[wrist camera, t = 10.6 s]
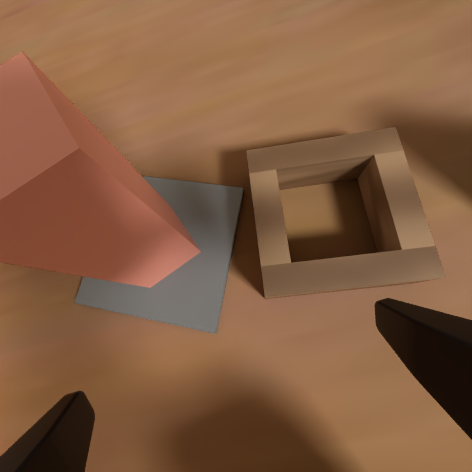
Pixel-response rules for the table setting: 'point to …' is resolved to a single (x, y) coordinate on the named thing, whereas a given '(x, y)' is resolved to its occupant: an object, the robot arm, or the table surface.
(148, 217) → the salmon pink rectangular block
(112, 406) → the table surface
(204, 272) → the rubber mat
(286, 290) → the frame
